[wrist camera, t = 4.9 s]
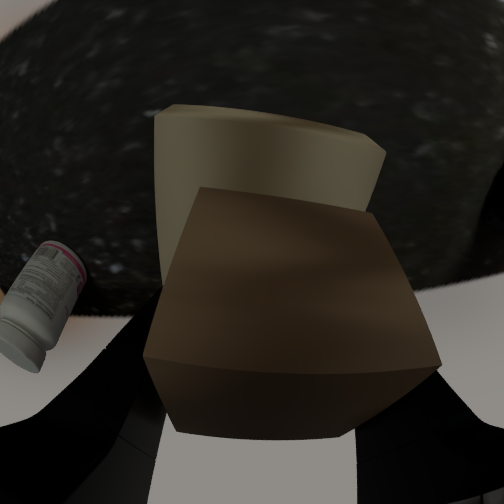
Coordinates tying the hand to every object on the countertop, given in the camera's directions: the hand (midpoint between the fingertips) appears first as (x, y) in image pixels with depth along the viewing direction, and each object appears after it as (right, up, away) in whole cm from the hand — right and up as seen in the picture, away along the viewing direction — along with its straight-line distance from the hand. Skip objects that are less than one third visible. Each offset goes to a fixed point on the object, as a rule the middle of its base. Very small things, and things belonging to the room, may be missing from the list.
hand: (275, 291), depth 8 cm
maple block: (0, +4, +6) cm, 7 cm away
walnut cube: (0, +1, +1) cm, 1 cm away
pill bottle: (-15, 0, +9) cm, 18 cm away
